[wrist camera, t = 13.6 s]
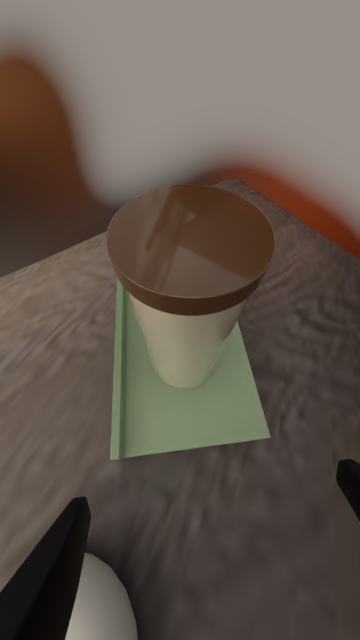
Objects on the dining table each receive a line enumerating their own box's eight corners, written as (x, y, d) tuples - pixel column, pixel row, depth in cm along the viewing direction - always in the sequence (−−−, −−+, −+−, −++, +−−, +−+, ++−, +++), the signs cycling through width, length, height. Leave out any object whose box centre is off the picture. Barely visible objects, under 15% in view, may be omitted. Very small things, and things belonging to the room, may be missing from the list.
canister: (231, 358, 18) (310, 235, 7) (181, 406, 16) (185, 337, 5) (185, 314, 20) (193, 169, 9) (136, 352, 18) (73, 225, 7)
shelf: (254, 438, 19) (280, 437, 14) (128, 455, 18) (109, 460, 13) (217, 293, 26) (225, 260, 22) (128, 301, 26) (117, 269, 21)
